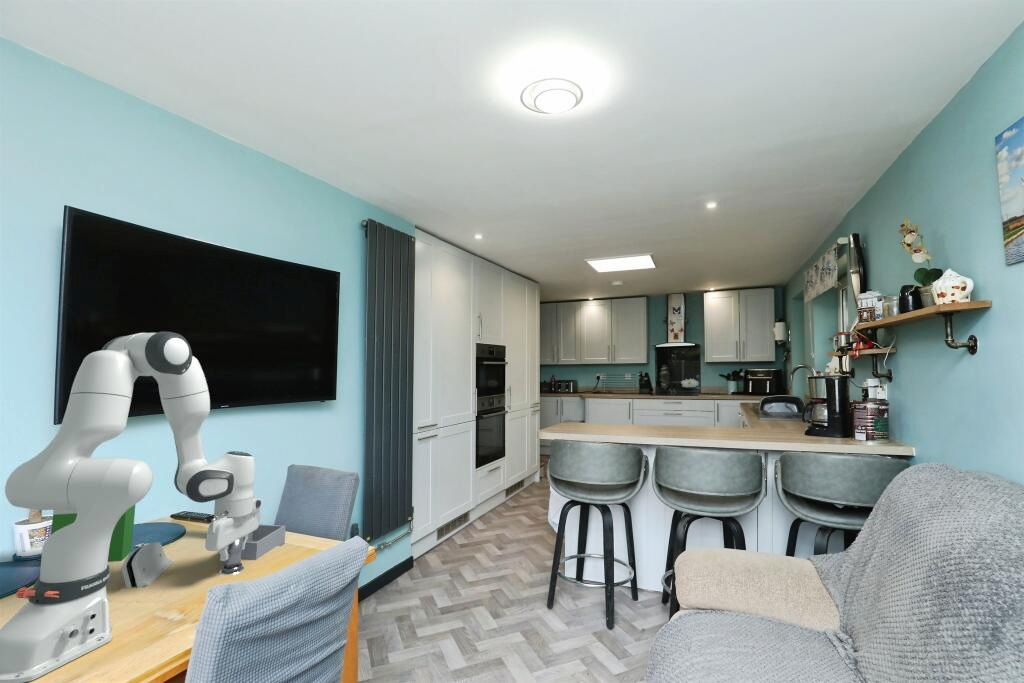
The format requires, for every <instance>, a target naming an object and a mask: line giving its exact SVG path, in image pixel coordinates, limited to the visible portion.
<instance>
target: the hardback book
mask: <svg viewBox="0 0 1024 683" xmlns="http://www.w3.org/2000/svg"><path fill="white" fill-rule="evenodd" d="M135 515H136V504H135V505H133V506H132V507H130V508H129V509H128V510H127V511H126V512H125V513H124V514H123V515H122V516H121V518H120V519H119V520H118V522H117V524H116V526H115V527H114V530H113V533H112V536H111V541H110V547H109V555H108V563H111V562H112V563H114V562H122V561H123V560H125V559H126V558H127V557H128V556H127V554H128V553H129V552H130V551H131V550H132V549H133V539H134V538H133V536H134V526H135ZM76 517H77V509H61V510H52V522H51V532H50V535H52V534H53V533H54V532H56V531H58V530H59V529H61V528H63V527H65V526H67V525H70V524H72V523H74V522H75V520H76ZM132 551H133V550H132ZM132 551H131V552H132Z"/></svg>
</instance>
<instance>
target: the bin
mask: <svg viewBox="0 0 1024 683" xmlns="http://www.w3.org/2000/svg"><path fill="white" fill-rule="evenodd" d="M285 542H286V525H279V524H278V525H275V524H259V527H258V528H257V529H256V530H254V531H253V532H251V533H249V534H248V538H247V541H246V543H245V549H244V550H242V554H241V560H252V561H257V560H258V559H259V558H261V557H263V556H265V554H268V553H269V552H270V551H272V550H273V549H275V548H277V547H282V546H283V545H285ZM218 556H219V559H220V553H219V555H218Z"/></svg>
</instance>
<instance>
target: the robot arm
mask: <svg viewBox="0 0 1024 683" xmlns="http://www.w3.org/2000/svg"><path fill="white" fill-rule="evenodd" d="M140 376H141V377H153V378H154V380H156V382H157V384H158V393H159V397H160V402H161V406H162V409H163V413H164V415H165V418H166V419H167V422H168V424H169V426H170V429H171V430H172V435H173V438H174V443H175V451H176V455H177V456H176V457H177V467H176V470H175V473H174V480H173V484H174V487H175V489H176V490H177V492H179V493H180V494H182V495H184V496H186V497H187V498H188V499H189V500H191V501H193V502H195V503H200V504H201V503H208V502H212V501H215V500H216V499H219V510H218V515H217V516H215V517H214V516H213V520H212V521H211V522H210V524H209V525H208V528H207V531H206V532H207V534H206V537H205V545H204V546H205V549H206V551H208V552H209V551H210V552H218V553H219V554H220V558H219V561H221V562H224V561H226V560H228V559H229V555H230V553H228V552H227V549H228V545H229V544H231V543H233V542H235V541H236V540H238V539H240V538H242V537H243V540H242V550H244V549H245V543H246V541H247V538H248V534H249V533H251V532H253V531H254V530H256V529H257V528H258V527H259V524H260V523H261V518H262V517H261V515H262V508H261V507H262V505H263V499H261V498H254V490H253V489H254V484H255V482H256V461H255V458H254V456H253V455H251V454H250V453H248V452H244V451H237V450H236V451H235V450H234V451H232V450H231V451H227V452H226V453H224V454H223V455H222V456H220V457H219V458H217V459H215V460H213V461H212V462H208V461H207V460H206V458H205V454H204V449H203V443H202V435H201V427H202V425H203V422H205V420H206V419H207V418H208V416H209V415H210V412H211V399H210V398H211V397H210V392H209V386H208V383H207V378H206V377H205V376H206V375H205V373H204V371H203V369H202V366H201V363H200V362H199V360H198V358H196V357H195V356H194V355H193V351H192V349H191V345H190V343H189V342H188V340H187V339H186V338H185V337H184V336H183V335H182V334H180V333H177V332H172V331H159V332H139V333H138V332H137V333H134V334H129V335H123V336H118V337H115V338H113V339H112V340H110V341H107V342H106V344H104V345H103V347H102V348H101V350H97V351H92V352H91V353H88V355H86V356H85V357H84V358H83V360H82V363H81V365H80V366H79V368H78V371H77V372H76V375H75V377H74V380H73V382H72V386H71V390H70V394H69V398H68V403H67V406H66V409H65V413H64V415H63V418H62V422H61V425H60V427H59V430H58V431H57V433H56V435H55V436H54V438H53V439H52V440H51V441H50V442H49V443H48V445H46V447H45V448H44V449H43V450H42V451H41V452H39V453H38V454H37V455H35V456H34V457H32V458H31V459H29V460H28V461H25V462H23V463H21V464H20V465H18V467H16V468H15V469H14V470H12V472H11V474H10V475H9V476H8V477H7V479H6V482H5V486H4V494H5V497H6V499H7V501H8V503H9V504H10V505H12V506H13V507H15V508H23V509H26V510H27V509H29V510H35V511H53V510H61V509H77V517H76V520H75V522H74V523H72V524H70V525H67V526H65V527H63V528H61V529H59V530H58V531H56V532H54V533H53V534H52V535H51V534H50V535H49V536H48V537H47V539H46V540H45V541H44V542H43V545H42V548H41V549H42V550H41V560H40V570H39V577H38V578H36V581H35V583H34V585H33V587H26V586H23V587H20V588H19V589H18V590H17V592H16V593H15V597H16V598H17V599H28V601H27V602H26V604H25V605H23V606H22V607H21V608H20V610H18V612H16V614H14V615H13V617H11V618H10V619H9V621H7V623H6V624H5V625H3V626H2V627H1V628H0V683H27V682H33V681H34V680H37V679H38V678H40V677H43V676H45V675H47V674H49V673H50V672H53V671H54V670H56V669H58V668H59V667H62V666H64V665H67V664H69V663H70V662H72V661H73V660H74V661H75V660H76V659H78V658H80V657H82V656H84V655H86V654H89V653H90V652H92V651H94V650H97V648H99V647H101V646H104V645H106V644H107V643H110V642H111V641H112V639H113V634H112V632H111V631H112V625H111V621H110V616H109V615H110V614H109V613H110V611H109V599H108V593H107V585H109V584H108V583H109V580H110V576H111V575H110V574H111V573H110V565H109V562H108V555H109V547H110V541H111V536H112V533H113V530H114V527H115V526H116V524H117V522H118V520H119V519H120V518H121V516H122V515H123V514H124V513H125V512H126V511H127V510H128V509H129V508H130V507H132V506H133V505H135V506H136V504H138V503H140V501H142V500H143V499H144V498H145V497H146V495H147V494H148V493H149V491H150V490H151V487H152V485H153V481H154V479H153V478H154V476H153V471H152V468H151V467H150V465H149V464H148V463H147V462H146V461H144V460H137V459H133V458H127V457H126V458H125V457H92V455H93V454H94V451H96V449H97V448H98V447H99V446H100V445H102V444H103V443H105V442H107V441H111V440H112V439H115V438H117V437H118V436H120V435H121V434H122V433H123V431H124V430H125V429H126V427H127V423H128V418H129V417H128V416H129V412H130V407H131V403H132V398H133V391H134V383H135V382H136V380H137V378H138V377H140Z"/></svg>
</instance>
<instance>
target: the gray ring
mask: <svg viewBox="0 0 1024 683" xmlns="http://www.w3.org/2000/svg"><path fill="white" fill-rule="evenodd" d="M221 570H222V568H221V569H220V570H219V571H218V574H220V575H221V576H222V575H223V576H230V575H236V574H239V573H241V572H243V571H244V570H245V567H244V566H243V565H242V570H241V571H239V572H236V573H232V574H224V573H222V572H221Z"/></svg>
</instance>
